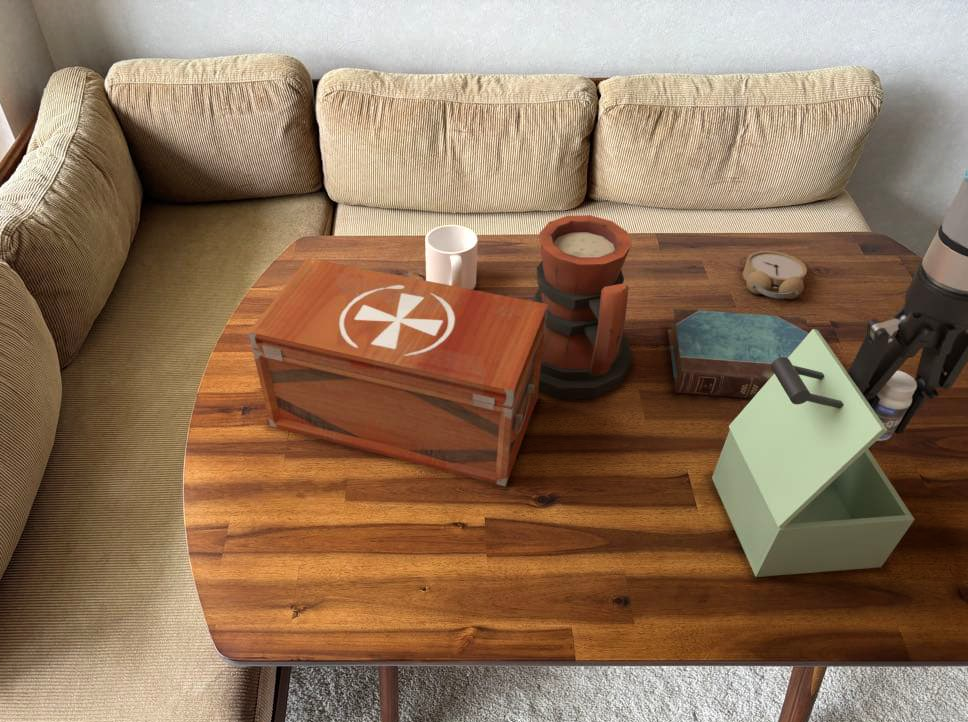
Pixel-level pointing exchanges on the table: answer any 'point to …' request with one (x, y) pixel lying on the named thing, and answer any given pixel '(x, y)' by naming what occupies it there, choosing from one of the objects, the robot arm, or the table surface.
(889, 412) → the pill bottle
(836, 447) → the lid
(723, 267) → the table surface
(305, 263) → the wooden box
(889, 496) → the chest
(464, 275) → the mug
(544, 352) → the tankard
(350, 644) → the table surface
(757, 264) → the alarm clock
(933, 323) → the robot arm
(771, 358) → the book
